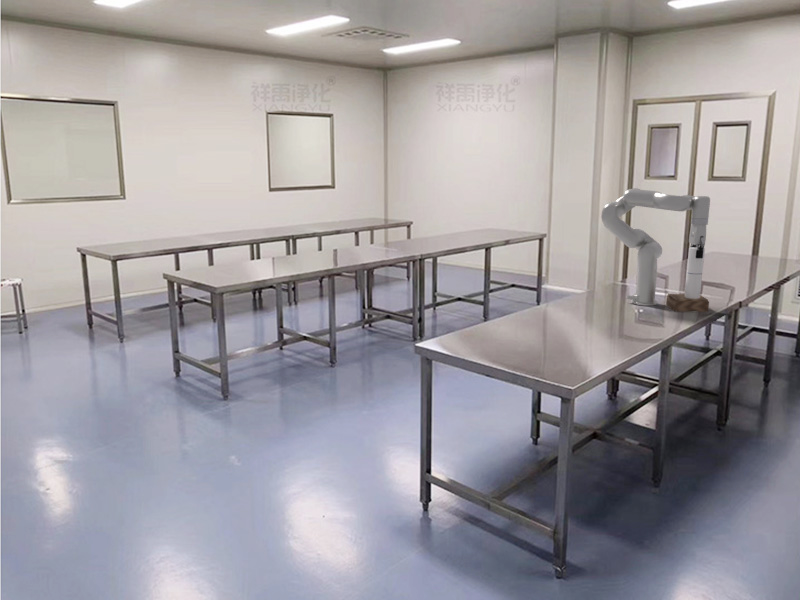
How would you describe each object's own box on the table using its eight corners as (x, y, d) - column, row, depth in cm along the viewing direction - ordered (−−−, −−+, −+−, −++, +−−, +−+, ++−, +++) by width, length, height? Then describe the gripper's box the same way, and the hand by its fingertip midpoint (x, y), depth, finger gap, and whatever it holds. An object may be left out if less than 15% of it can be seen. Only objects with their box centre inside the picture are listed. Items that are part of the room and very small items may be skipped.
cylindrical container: (691, 299, 315) (696, 249, 310) (681, 296, 322) (685, 247, 316) (703, 298, 317) (708, 248, 312) (693, 295, 324) (697, 246, 318)
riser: (674, 311, 316) (675, 299, 315) (666, 304, 330) (667, 293, 328) (708, 311, 314) (709, 300, 313) (698, 305, 328) (699, 294, 327)
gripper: (685, 219, 320) (682, 254, 324) (698, 223, 303) (694, 259, 307) (701, 219, 319) (697, 254, 323) (714, 223, 302) (710, 259, 306)
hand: (696, 256), depth 315 cm, fingers open, 7 cm apart
